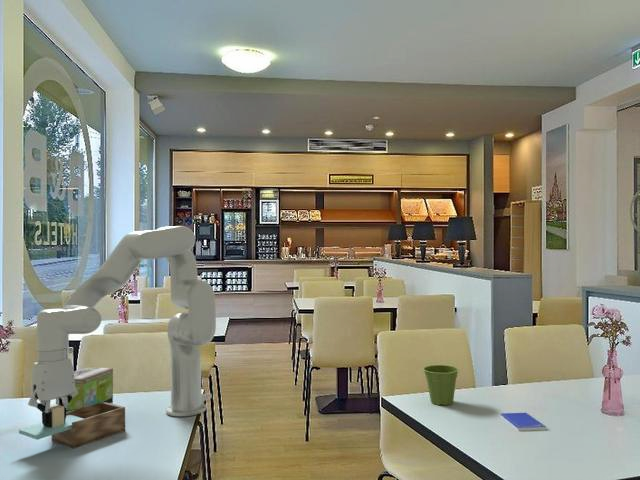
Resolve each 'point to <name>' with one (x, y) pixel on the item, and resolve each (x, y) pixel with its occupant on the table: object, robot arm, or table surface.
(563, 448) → the table surface
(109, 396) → the tea box
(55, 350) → the robot arm
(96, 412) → the walnut box
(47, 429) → the cover plate
